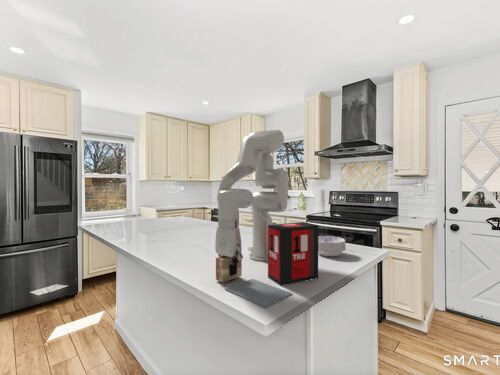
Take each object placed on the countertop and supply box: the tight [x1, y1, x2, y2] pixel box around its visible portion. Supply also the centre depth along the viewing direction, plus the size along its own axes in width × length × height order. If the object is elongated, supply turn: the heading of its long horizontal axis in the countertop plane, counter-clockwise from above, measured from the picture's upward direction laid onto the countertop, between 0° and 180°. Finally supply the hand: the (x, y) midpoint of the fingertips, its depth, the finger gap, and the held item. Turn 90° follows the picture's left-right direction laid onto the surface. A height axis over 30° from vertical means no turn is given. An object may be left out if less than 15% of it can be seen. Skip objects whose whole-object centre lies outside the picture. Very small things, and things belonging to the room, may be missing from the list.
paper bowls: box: [318, 235, 347, 258], centre depth 132 cm, size 15×15×8 cm
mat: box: [224, 278, 293, 309], centre depth 86 cm, size 18×13×1 cm
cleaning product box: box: [267, 221, 319, 287], centre depth 99 cm, size 16×9×20 cm, turn 115°
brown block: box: [215, 256, 243, 283], centre depth 97 cm, size 4×9×8 cm, turn 135°
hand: (229, 272), depth 97 cm, fingers closed on brown block, 4 cm apart
